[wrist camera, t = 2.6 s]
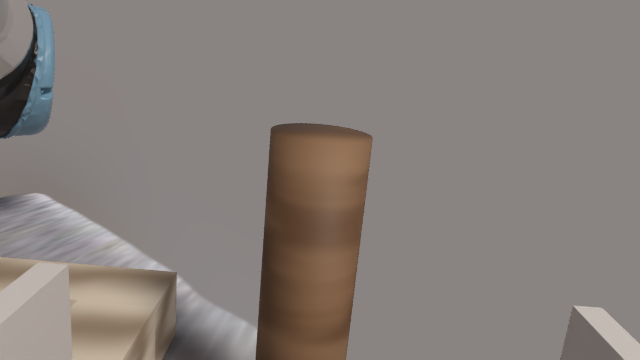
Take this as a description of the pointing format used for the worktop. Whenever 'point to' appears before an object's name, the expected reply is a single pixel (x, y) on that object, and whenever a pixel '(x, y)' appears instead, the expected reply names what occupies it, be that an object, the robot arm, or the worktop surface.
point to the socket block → (113, 309)
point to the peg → (311, 240)
